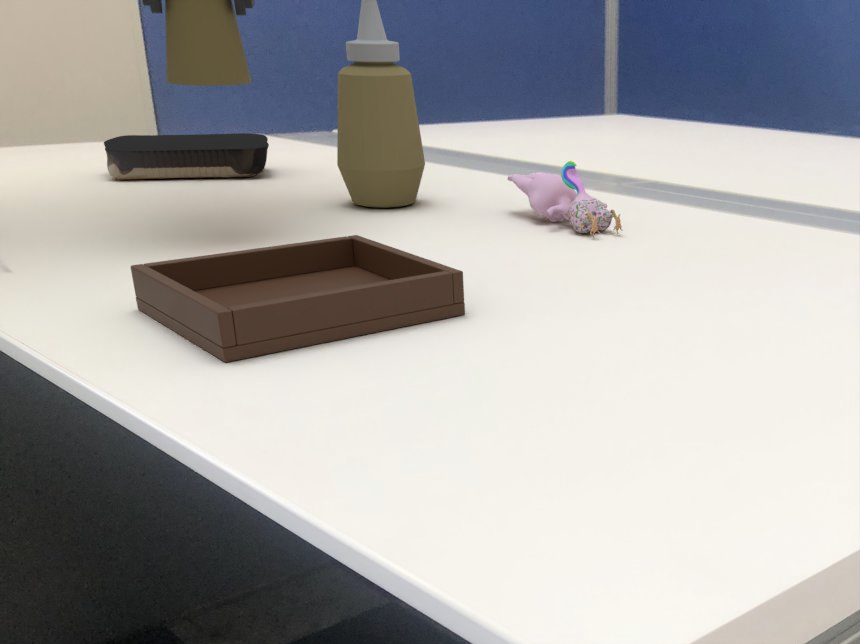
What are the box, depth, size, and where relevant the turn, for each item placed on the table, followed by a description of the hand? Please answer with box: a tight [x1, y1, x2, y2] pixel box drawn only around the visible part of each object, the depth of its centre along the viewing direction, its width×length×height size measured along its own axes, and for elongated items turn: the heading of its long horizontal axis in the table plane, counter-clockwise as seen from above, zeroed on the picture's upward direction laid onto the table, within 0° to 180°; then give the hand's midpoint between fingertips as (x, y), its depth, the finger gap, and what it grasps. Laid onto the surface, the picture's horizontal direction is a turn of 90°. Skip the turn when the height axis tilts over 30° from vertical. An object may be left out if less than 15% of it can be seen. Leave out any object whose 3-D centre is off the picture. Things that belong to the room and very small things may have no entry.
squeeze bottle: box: [336, 0, 426, 209], centre depth 98 cm, size 8×8×18 cm
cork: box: [164, 0, 252, 87], centre depth 78 cm, size 6×6×11 cm
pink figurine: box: [507, 160, 624, 238], centre depth 94 cm, size 6×6×15 cm
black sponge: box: [103, 132, 270, 180], centre depth 114 cm, size 16×8×4 cm, turn 104°
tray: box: [130, 234, 466, 363], centre depth 67 cm, size 16×14×3 cm
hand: (198, 5), depth 77 cm, fingers closed on cork, 5 cm apart
